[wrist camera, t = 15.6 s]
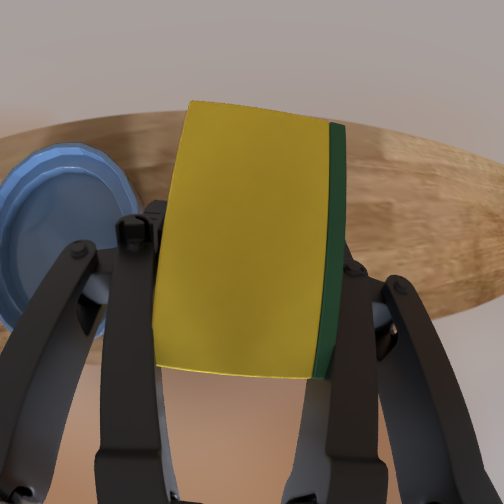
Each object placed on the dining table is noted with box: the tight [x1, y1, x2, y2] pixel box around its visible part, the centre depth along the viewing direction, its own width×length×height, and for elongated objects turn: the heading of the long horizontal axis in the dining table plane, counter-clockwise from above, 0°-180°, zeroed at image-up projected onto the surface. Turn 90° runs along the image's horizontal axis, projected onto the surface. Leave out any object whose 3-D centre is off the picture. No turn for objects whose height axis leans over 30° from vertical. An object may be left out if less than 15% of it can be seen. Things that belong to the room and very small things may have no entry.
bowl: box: [0, 143, 145, 340], centre depth 20 cm, size 17×17×4 cm
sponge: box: [152, 101, 346, 379], centre depth 12 cm, size 4×7×11 cm, turn 174°
